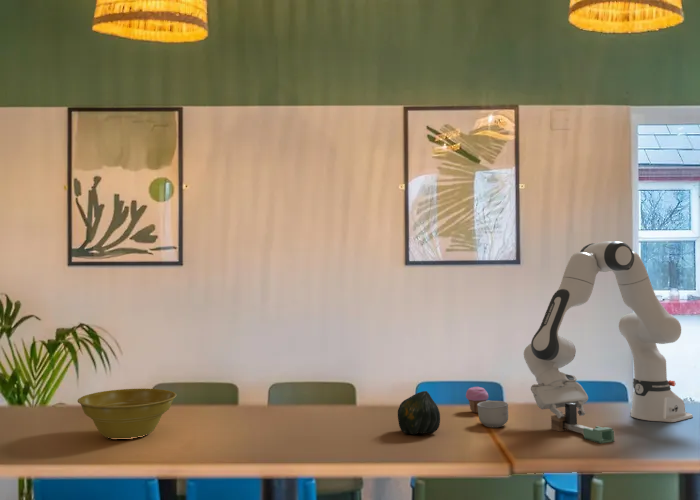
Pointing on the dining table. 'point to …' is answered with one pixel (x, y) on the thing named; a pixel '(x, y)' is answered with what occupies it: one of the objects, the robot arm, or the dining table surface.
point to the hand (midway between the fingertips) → (572, 416)
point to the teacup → (493, 413)
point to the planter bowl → (126, 410)
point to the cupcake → (476, 397)
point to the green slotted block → (599, 434)
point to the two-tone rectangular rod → (572, 419)
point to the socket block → (557, 423)
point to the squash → (419, 414)
